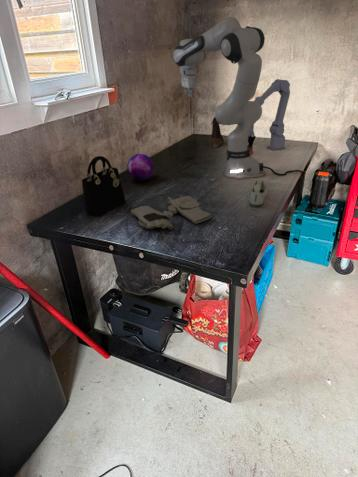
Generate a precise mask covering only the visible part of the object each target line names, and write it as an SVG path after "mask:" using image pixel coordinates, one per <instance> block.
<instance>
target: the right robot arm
mask: <svg viewBox="0 0 358 477" xmlns="http://www.w3.org/2000/svg"><path fill="white" fill-rule="evenodd" d="M290 87H291V83H290V82H289V80H287V79H280V78H277V79H275V80H274V81H273V82H272V83H271V84H270V86H269V87H268V88H267V89H266V90H265V91H264V92H263V94H261V95H260V96H256V97H255V99H254V100H253V101H255V102H259V103H260V105H261V107H262V106H263V105H264V104H265V101H266V99H268V98H269V97H270V96H272V94H274V93H275V92H277V93H278V94H279V95H280V98H279V101H278V106H277V109H276V113H275V118H274V120H273V121H272V123H271V124H270V126H269V129H268V131H269V133H270V143H269V146H267V148H268V149H270V150H272V151H276V150H283V149H285V144H286V137H285V135H284V133H285V123H284V119H285V116H286V111H287V107H288V103H289V100H290V96H291V90H290ZM254 127H255V124H254V125H253V127H252V128H251V130H250V133H249V137H248V145H249V147H252V146H253V145H254V142H255V139H257V136H256V133H255V131H254V130H255V128H254Z"/></svg>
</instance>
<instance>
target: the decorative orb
mask: <svg viewBox="0 0 358 477" xmlns="http://www.w3.org/2000/svg"><path fill="white" fill-rule="evenodd" d="M126 168H127V172H128V175H129V177H131V178H132V179H133V180H136V181H138V182H139V181H140V182H141V181H146V180H148V179H149V178H151V176H152V175H153V173H154V169H155V166H154V162H153V160H152V158H151V157H150V156H148V155H147V154H145V153H136V154H134V155H132V156H130V158H129V159H128V161H127V165H126Z"/></svg>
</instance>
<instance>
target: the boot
mask: <svg viewBox="0 0 358 477" xmlns="http://www.w3.org/2000/svg"><path fill="white" fill-rule="evenodd" d="M211 125H212V126H211V127H212V129H211V130H212V131H211V134H210V135H211V143H212V146H213V148H214V149H215V148H218V147H219V146H221V145H222V144H224V143H225V139H224V137H223V135H222V133H221V128H220V124H219V123H218V122H217V121H216V118H215V116H214V117H213V118H212V121H211Z"/></svg>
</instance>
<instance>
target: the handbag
mask: <svg viewBox="0 0 358 477" xmlns="http://www.w3.org/2000/svg"><path fill="white" fill-rule="evenodd" d="M99 161H101V163H102V168H101V170H100V171H99V172H97V170H96V165H97V163H98V162H99ZM106 165H107V168H106ZM91 171H92V174H91ZM86 172H87V173H86V176H85V177H84V178H82V179H81V185H82V193H83V194H82V195H83V200H84V201H83V202H84V209H85V210H84V211H85V213H86V214H90V215H93V216H97V217H98V216H99V217H100V216H102V215H103V214H105V213H108V212H109V211H111V210H113V209H115V208H116V207H118V206H119V205H121V204H123V203H125V202H126V198H125V193H124V188H123V185H122V180H121V177H120V172H119V169H118V168H117V167H112V165H111V162H110V161H109V160H108V158H106V157H105V156H103V155H96V156H95V157H93V159H92V160H91V161H90V162H89V164H88V167H87V170H86Z"/></svg>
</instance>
